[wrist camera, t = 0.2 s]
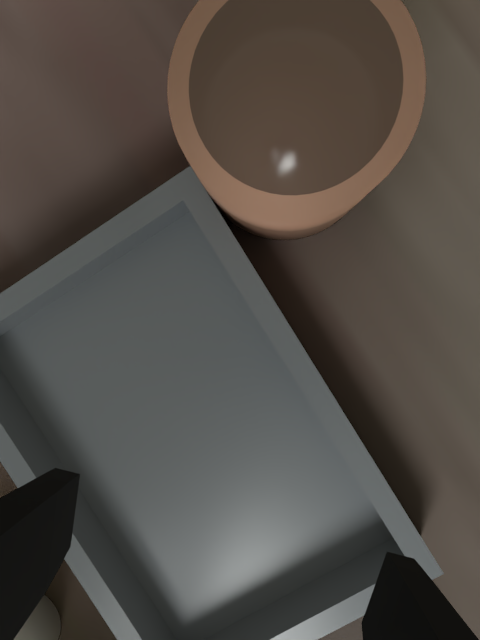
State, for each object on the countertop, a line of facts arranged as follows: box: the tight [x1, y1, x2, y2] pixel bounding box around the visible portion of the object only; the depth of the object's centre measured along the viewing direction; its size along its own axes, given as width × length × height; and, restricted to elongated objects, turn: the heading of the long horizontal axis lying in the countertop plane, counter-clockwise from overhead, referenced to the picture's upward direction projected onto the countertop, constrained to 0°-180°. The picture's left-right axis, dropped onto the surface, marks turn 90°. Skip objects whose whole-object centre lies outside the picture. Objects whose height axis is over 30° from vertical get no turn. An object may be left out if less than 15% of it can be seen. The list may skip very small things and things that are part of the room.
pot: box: [167, 0, 426, 240], centre depth 16 cm, size 8×8×6 cm
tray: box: [0, 166, 444, 640], centre depth 19 cm, size 14×20×2 cm
